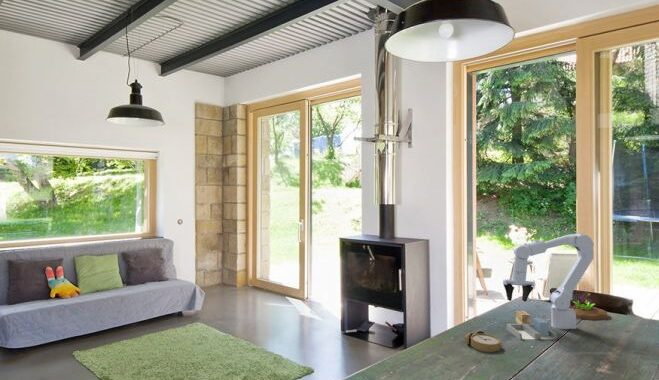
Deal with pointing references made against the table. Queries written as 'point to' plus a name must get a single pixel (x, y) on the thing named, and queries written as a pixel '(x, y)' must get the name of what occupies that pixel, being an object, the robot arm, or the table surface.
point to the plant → (587, 310)
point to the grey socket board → (528, 332)
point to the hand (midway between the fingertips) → (516, 300)
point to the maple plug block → (522, 317)
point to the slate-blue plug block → (541, 326)
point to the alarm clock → (483, 341)
